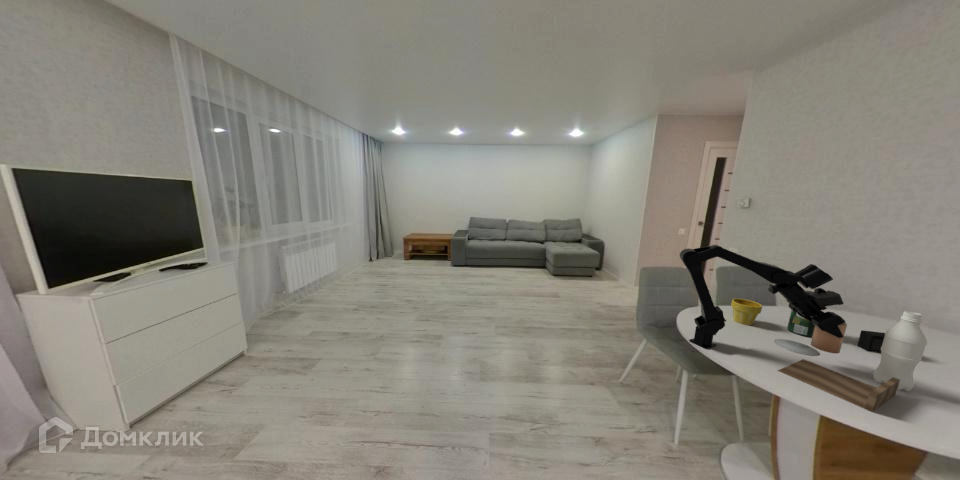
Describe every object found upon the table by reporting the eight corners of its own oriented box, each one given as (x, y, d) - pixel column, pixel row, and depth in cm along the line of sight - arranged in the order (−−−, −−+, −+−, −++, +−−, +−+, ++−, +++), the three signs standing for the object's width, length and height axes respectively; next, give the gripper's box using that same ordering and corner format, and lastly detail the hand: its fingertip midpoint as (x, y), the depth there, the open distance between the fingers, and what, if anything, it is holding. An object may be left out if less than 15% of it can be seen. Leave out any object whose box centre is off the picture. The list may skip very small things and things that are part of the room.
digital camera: (870, 353, 107) (875, 336, 106) (856, 345, 112) (861, 329, 111) (907, 358, 104) (913, 341, 103) (891, 350, 109) (896, 333, 108)
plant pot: (764, 328, 126) (768, 308, 124) (738, 325, 128) (741, 305, 126) (747, 318, 136) (751, 299, 134) (723, 316, 138) (726, 297, 136)
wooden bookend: (871, 415, 77) (876, 395, 76) (776, 373, 94) (780, 357, 93) (894, 397, 83) (900, 379, 82) (802, 361, 101) (806, 346, 100)
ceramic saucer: (810, 361, 101) (811, 358, 101) (766, 344, 112) (767, 342, 112) (825, 354, 106) (826, 352, 105) (782, 339, 117) (782, 336, 116)
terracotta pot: (840, 355, 92) (848, 326, 90) (810, 347, 97) (817, 319, 95) (838, 348, 96) (846, 320, 94) (810, 341, 101) (816, 314, 99)
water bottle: (864, 379, 91) (884, 308, 87) (883, 379, 92) (904, 307, 88) (898, 395, 84) (922, 318, 80) (918, 394, 85) (943, 318, 81)
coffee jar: (792, 326, 128) (801, 287, 125) (818, 334, 121) (828, 293, 118) (783, 330, 124) (791, 290, 121) (809, 338, 117) (819, 297, 114)
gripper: (843, 291, 86) (888, 333, 83) (807, 275, 102) (843, 310, 99) (802, 310, 91) (843, 350, 88) (773, 292, 107) (807, 325, 104)
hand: (834, 332), depth 95 cm, fingers closed on terracotta pot, 6 cm apart
